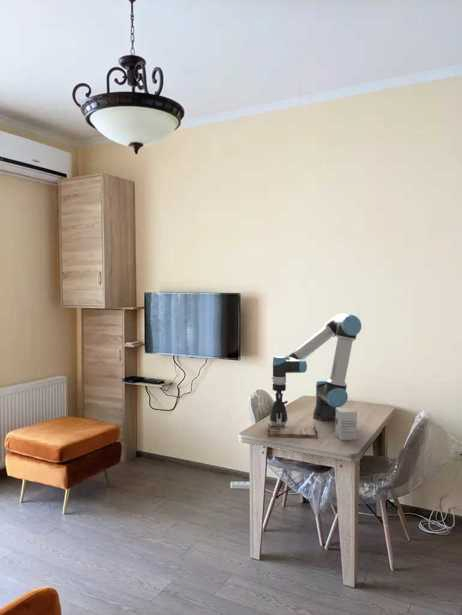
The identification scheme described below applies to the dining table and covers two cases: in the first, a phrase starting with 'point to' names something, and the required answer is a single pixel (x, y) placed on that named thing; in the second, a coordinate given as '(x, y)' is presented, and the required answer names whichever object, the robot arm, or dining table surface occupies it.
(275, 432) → the ledge board
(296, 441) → the dining table surface
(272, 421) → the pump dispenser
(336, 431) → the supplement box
